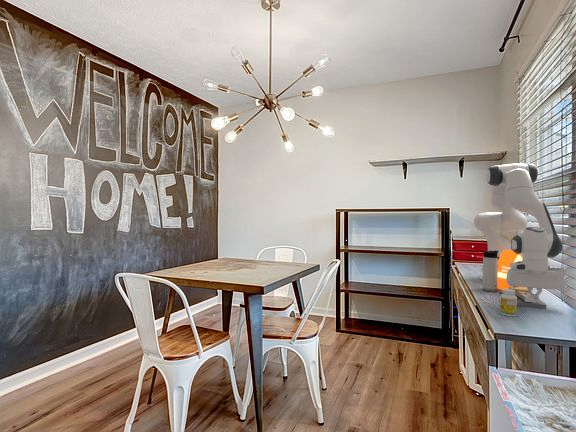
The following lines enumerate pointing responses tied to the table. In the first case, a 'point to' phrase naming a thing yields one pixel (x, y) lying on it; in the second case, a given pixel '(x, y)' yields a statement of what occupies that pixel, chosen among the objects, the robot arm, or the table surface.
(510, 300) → the supplement bottle
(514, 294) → the keeper clip
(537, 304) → the base plate
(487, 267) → the travel mug
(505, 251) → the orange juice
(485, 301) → the table surface
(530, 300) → the arm link
